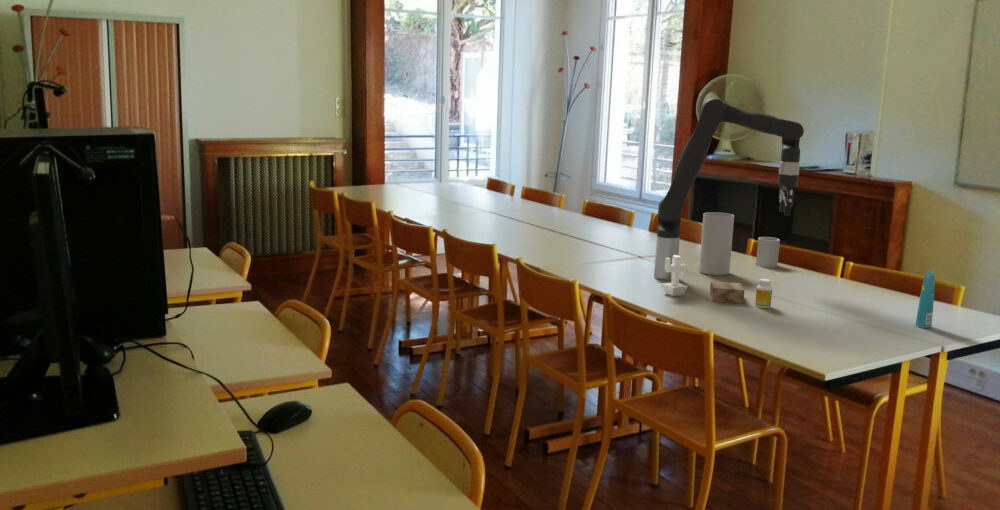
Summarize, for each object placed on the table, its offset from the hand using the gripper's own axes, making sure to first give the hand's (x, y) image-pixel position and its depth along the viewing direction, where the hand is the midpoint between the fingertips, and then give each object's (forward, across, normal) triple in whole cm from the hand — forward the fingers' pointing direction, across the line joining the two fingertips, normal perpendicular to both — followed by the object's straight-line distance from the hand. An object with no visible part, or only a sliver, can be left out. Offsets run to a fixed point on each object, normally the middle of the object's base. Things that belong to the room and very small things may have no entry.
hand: (784, 214), depth 328 cm
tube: (+29, +53, +36) cm, 70 cm away
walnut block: (+29, +28, -25) cm, 47 cm away
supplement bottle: (+29, +36, -13) cm, 48 cm away
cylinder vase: (+29, -17, -22) cm, 41 cm away
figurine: (+29, +25, -44) cm, 58 cm away
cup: (+29, -38, +4) cm, 48 cm away
